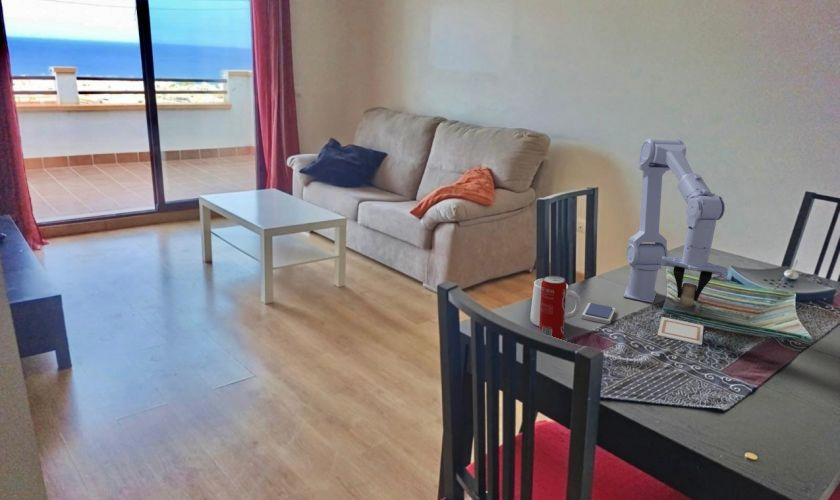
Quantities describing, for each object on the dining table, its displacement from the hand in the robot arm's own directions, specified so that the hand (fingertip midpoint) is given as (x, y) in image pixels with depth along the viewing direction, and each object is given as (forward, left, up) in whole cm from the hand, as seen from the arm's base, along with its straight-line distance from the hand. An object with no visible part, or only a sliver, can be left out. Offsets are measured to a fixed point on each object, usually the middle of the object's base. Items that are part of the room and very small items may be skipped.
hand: (687, 298), depth 148 cm
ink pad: (+1, -20, -9) cm, 22 cm away
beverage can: (+21, -28, -9) cm, 36 cm away
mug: (+12, -29, -9) cm, 33 cm away
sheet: (0, 0, -9) cm, 9 cm away
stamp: (0, 0, -3) cm, 3 cm away
